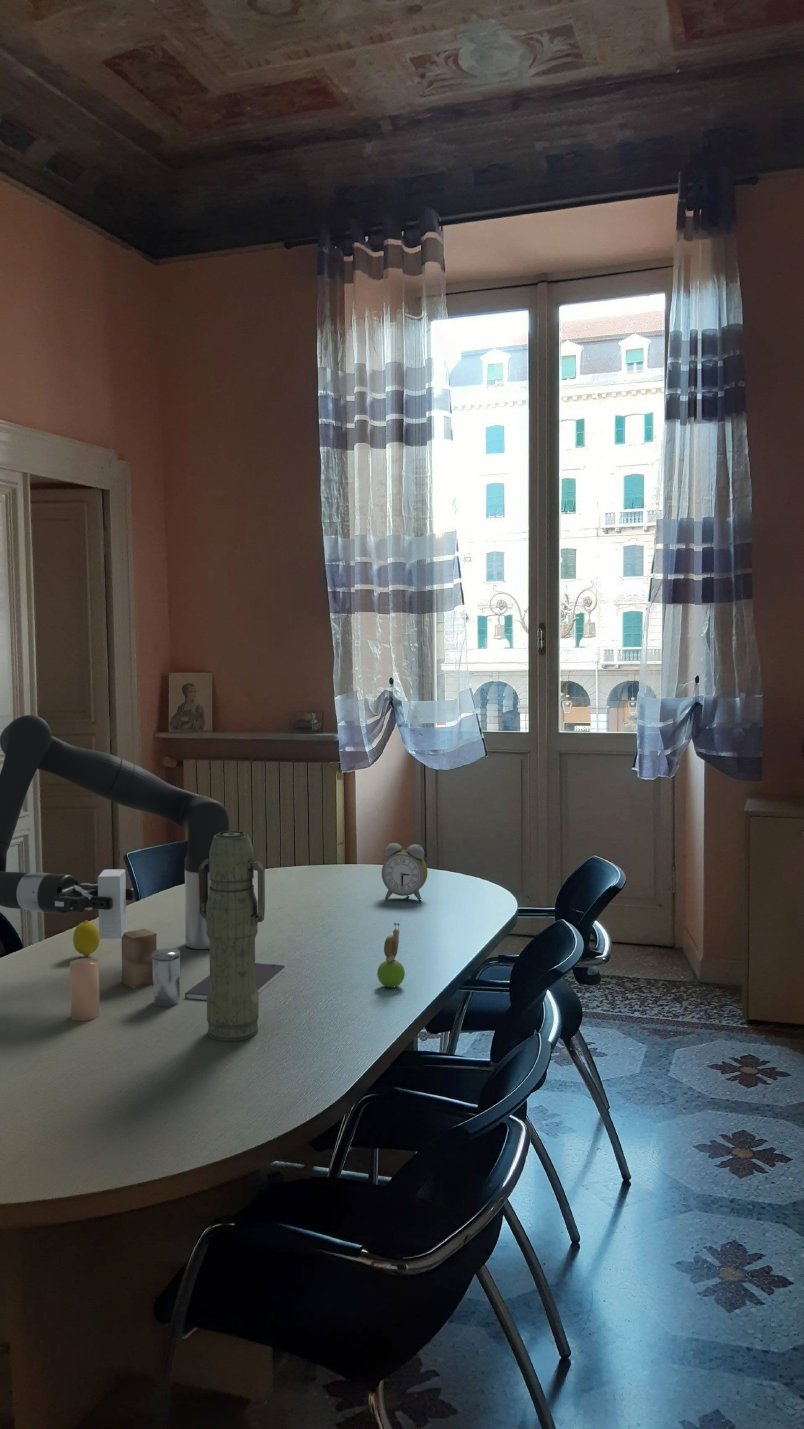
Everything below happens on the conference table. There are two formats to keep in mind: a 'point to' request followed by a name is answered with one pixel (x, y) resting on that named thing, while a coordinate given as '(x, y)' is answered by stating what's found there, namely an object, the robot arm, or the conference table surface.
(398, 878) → the alarm clock
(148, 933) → the walnut block
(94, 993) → the peach rounded cylinder
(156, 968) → the grey tin
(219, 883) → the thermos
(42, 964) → the conference table surface
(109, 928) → the skincare box
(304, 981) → the conference table surface
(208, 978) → the notebook
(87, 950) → the lemon
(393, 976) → the snail figurine
